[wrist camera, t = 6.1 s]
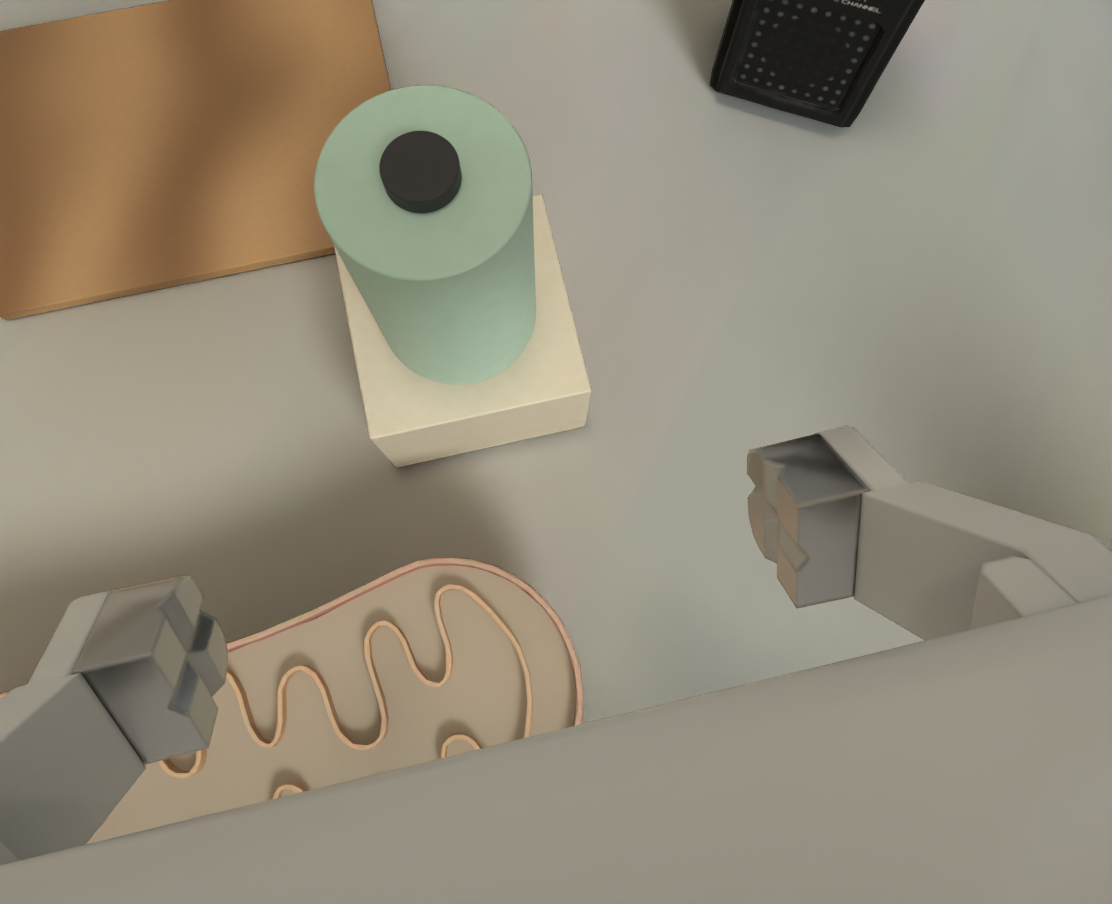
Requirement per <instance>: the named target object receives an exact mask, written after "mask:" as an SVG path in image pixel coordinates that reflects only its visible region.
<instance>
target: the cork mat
mask: <svg viewBox="0 0 1112 904" xmlns="http://www.w3.org/2000/svg"><path fill="white" fill-rule="evenodd" d="M390 90H391V88H390V83H389V78H388V74H387V69H386V64H385V59H384V55H383V50H382V45H381V40H380V36H379V31H378V26H377V21H376V17H375V12H374V7H373V2H372V0H169V1H164V2H158V3H153V4H147V5H142V6H136V7H131V8H125V9H120V10H114V11H109V12H103V13H98V14H92V15H87V16H81V17H75V18H70V19H64V20H59V21H53V22H48V23H42V24H37V25H31V26H26V27H20V28H15V29H9V30H4V31H0V317H1V318H3V319H5V320H9V319H14V318H19V317H24V316H29V315H34V314H39V313H44V312H49V311H54V310H58V309H63V308H68V307H73V306H78V305H83V304H88V303H93V302H98V301H103V300H108V299H113V298H118V297H122V296H127V295H132V294H137V293H142V292H147V291H152V290H157V289H162V288H167V287H172V286H177V285H182V284H187V283H191V282H196V281H201V280H206V279H211V278H216V277H221V276H226V275H231V274H236V273H241V272H246V271H251V270H256V269H260V268H265V267H270V266H275V265H280V264H285V263H290V262H295V261H300V260H305V259H310V258H315V257H320V256H325V255H329V254H334V253H335V248H334V244H333V243H332V241H331V239H330V237H329V235H328V234H327V232H326V230H325V228H324V226H323V224H322V221H321V219H320V217H319V214H318V210H317V206H316V203H315V194H314V178H315V172H316V166H317V162H318V159H319V156H320V153H321V150H322V148H323V146H324V144H325V142H326V140H327V138H328V137H329V135H330V134H331V133H332V131H333V130H334V128H335V127H336V126H337V125H338V124H339V122H340V121H341V120H342V119H343V118H344V117H345V116H346V115H348V114H349V113H350V112H351V111H352V110H353V109H355V108H356V107H358V106H359V105H361V104H362V103H364V102H365V101H367V100H369V99H371V98H373V97H375V96H377V95H379V94H382V93H385V92H387V91H390Z"/></svg>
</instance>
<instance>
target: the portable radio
mask: <svg viewBox="0 0 1112 904" xmlns="http://www.w3.org/2000/svg"><path fill="white" fill-rule="evenodd" d="M924 1H925V0H733V2H732V5H731V8H730V12H729V15H728V19H727V22H726V25H725V29H724V32H723V35H722V39H721V42H720V45H719V49H718V52H717V56H716V59H715V62H714V66H713V69H712V74H711V80H710V85H711V86H712V87H713V88H714V89H715V90H716V91H717V92H721V93H724V94H728V95H731V96H735V97H738V98H742V99H745V100H749V101H752V102H755V103H759V104H762V105H765V106H769V107H772V108H775V109H779V110H782V111H786V112H790V113H793V114H797V115H800V116H804V117H808V118H811V119H815V120H818V121H822V122H825V123H829V124H832V125H836V126H839V127H850V125H851V124H852V123H853V121H854V120H855V119H856V117H857V116H858V114H859V113H860V111H861V110H862V108H863V106H864V104H865V103H866V101H867V99H868V97H869V96H870V94H871V92H872V90H873V89H874V87H875V85H876V83H877V81H878V80H879V78H880V76H881V74H882V73H883V71H884V69H885V68H886V66H887V64H888V62H889V61H890V59H891V57H892V56H893V54H894V52H895V50H896V49H897V47H898V45H899V44H900V42H901V40H902V38H903V37H904V35H905V33H906V32H907V30H908V28H909V26H910V25H911V23H912V21H913V20H914V18H915V16H916V14H917V13H918V11H919V9H920V8H921V6H922V4H923V2H924Z"/></svg>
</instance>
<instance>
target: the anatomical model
mask: <svg viewBox="0 0 1112 904" xmlns="http://www.w3.org/2000/svg"><path fill="white" fill-rule="evenodd" d="M227 649H228V671H227V676H226V680H225V684H224V685H223V686H222V687H221V688H220V689H219V690H218V691H217V692H216V693H215V694H214V695H213V697H212V698H213V700H214V701H215V703H216V705H217V707H218V713H217V717H216V721H215V725H214V729H213V733H212V737H211V741H210V745H209V748H207V749H203V750H199V751H195V752H192V753H188V754H184V755H180V756H177V757H173V758H169V759H165V760H161V761H158V762H154V763H150V764H146V765H145V766H146V769H145V770H144V771H143V773H142V774H141V775H140V776H139V778H138V779H137V780H136V781H135V783H134V784H133V785H132V787H131V788H130V789H129V790H128V792H127V793H126V794H125V795H124V797H123V798H122V799H121V801H120V802H119V803H118V804H117V806H116V807H115V808H114V809H113V811H112V812H111V813H110V814H109V816H108V817H107V818H106V820H105V821H104V822H103V823H102V825H101V826H100V827H99V828H98V830H97V831H96V832H95V834H94V835H93V836H92V837H91V839H90V840H89V841H88V842H87V844H90V843H94V842H98V841H102V840H106V839H110V838H114V837H119V836H123V835H127V834H131V833H135V832H139V831H143V830H147V829H152V828H156V827H160V826H164V825H168V824H172V823H176V822H180V821H185V820H189V819H193V818H197V817H201V816H205V815H209V814H213V813H218V812H222V811H226V810H230V809H234V808H238V807H242V806H247V805H251V804H255V803H259V802H263V801H267V800H271V799H275V798H280V797H284V796H288V795H292V794H296V793H300V792H304V791H308V790H313V789H317V788H321V787H325V786H329V785H333V784H337V783H341V782H346V781H350V780H354V779H358V778H362V777H366V776H370V775H375V774H379V773H383V772H387V771H391V770H395V769H399V768H403V767H408V766H412V765H416V764H420V763H424V762H428V761H432V760H436V759H440V758H444V757H449V756H453V755H457V754H461V753H465V752H469V751H473V750H477V749H481V748H485V747H490V746H494V745H498V744H502V743H506V742H510V741H514V740H518V739H522V738H526V737H530V736H535V735H539V734H543V733H547V732H551V731H555V730H559V729H563V728H567V727H571V726H575V725H580V724H581V721H582V714H583V686H582V678H581V671H580V664H579V661H578V658H577V655H576V652H575V649H574V647H573V644H572V641H571V638H570V636H569V634H568V632H567V630H566V629H565V627H564V625H563V623H562V621H561V619H560V618H559V617H558V615H557V614H556V613H555V611H554V610H553V609H552V607H551V606H550V605H549V604H548V602H547V601H546V600H545V599H544V598H543V597H542V596H541V595H540V594H539V593H538V592H537V591H536V590H535V589H533V588H532V587H531V586H530V585H528V584H527V583H526V582H524V581H523V580H521V579H520V578H518V577H517V576H515V575H514V574H512V573H510V572H508V571H506V570H503V569H501V568H499V567H497V566H494V565H491V564H487V563H484V562H480V561H477V560H472V559H464V558H456V557H449V558H429V559H424V560H419V561H416V562H413V563H411V564H408V565H406V566H403V567H401V568H399V569H396V570H394V571H392V572H390V573H388V574H386V575H384V576H382V577H380V578H378V579H376V580H374V581H372V582H370V583H368V584H366V585H363V586H361V587H359V588H357V589H355V590H353V591H351V592H349V593H347V594H345V595H343V596H341V597H339V598H337V599H335V600H333V601H331V602H328V603H326V604H324V605H322V606H320V607H318V608H316V609H314V610H312V611H309V612H307V613H305V614H302V615H300V616H297V617H295V618H293V619H290V620H288V621H286V622H283V623H281V624H278V625H276V626H274V627H271V628H269V629H266V630H264V631H262V632H259V633H256V634H253V635H250V636H247V637H245V638H242V639H239V640H236V641H233V642H230V643H227ZM9 692H10V691H8V692H3V693H0V699H2V698H3V697H4V696H5V695H6V694H8V693H9Z"/></svg>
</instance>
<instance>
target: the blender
mask: <svg viewBox="0 0 1112 904" xmlns="http://www.w3.org/2000/svg"><path fill="white" fill-rule="evenodd" d="M314 194H315V203H316V206H317V210H318V214H319V217H320V219H321V221H322V224H323V226H324V228H325V230H326V232H327V234H328V235H329V237H330V239H331V241H332V243H333V244H334V248H335V254H336V259H337V265H338V270H339V276H340V281H341V286H342V292H343V297H344V303H345V308H346V314H347V319H348V324H349V330H350V335H351V341H352V346H353V352H354V357H355V363H356V368H357V373H358V379H359V384H360V390H361V395H362V401H363V406H364V411H365V417H366V422H367V428H368V433H369V438H370V439H371V441H372V442H373V443H374V444H375V445H376V446H377V447H378V448H379V449H380V450H381V451H382V453H383V454H384V455H385V456H386V457H387V458H388V459H389V460H390V461H391V462H392V463H393V465H394V466H395V467H397V468H398V467H403V466H407V465H412V464H416V463H421V462H425V461H430V460H434V459H439V458H443V457H448V456H452V455H457V454H462V453H466V452H471V451H475V450H480V449H484V448H489V447H493V446H498V445H502V444H507V443H511V442H516V441H520V440H525V439H529V438H534V437H539V436H543V435H548V434H552V433H557V432H561V431H566V430H570V429H575V428H579V427H584V426H585V421H586V416H587V411H588V405H589V400H590V395H591V386H590V382H589V378H588V374H587V370H586V366H585V362H584V358H583V354H582V350H581V346H580V342H579V338H578V334H577V330H576V326H575V322H574V318H573V314H572V310H571V306H570V302H569V298H568V294H567V290H566V286H565V282H564V278H563V274H562V270H561V266H560V262H559V258H558V254H557V250H556V246H555V242H554V238H553V234H552V230H551V226H550V222H549V218H548V214H547V210H546V206H545V202H544V198H543V195H542V194H538V195H533V194H532V170H531V165H530V159H529V156H528V153H527V150H526V147H525V145H524V143H523V141H522V139H521V137H520V135H519V134H518V132H517V131H516V129H515V128H514V127H513V125H512V124H511V123H510V122H509V121H508V120H507V119H506V117H505V116H504V115H503V114H502V113H500V112H499V111H498V110H497V109H496V108H494V107H493V106H492V105H490V104H489V103H487V102H486V101H484V100H482V99H480V98H478V97H476V96H474V95H472V94H470V93H467V92H464V91H461V90H458V89H454V88H449V87H445V86H435V85H416V86H408V87H402V88H398V89H394V90H390V91H387V92H385V93H382V94H379V95H377V96H375V97H373V98H371V99H369V100H367V101H365V102H364V103H362V104H361V105H359V106H358V107H356V108H355V109H353V110H352V111H351V112H350V113H349V114H348V115H346V116H345V117H344V118H343V119H342V120H341V121H340V122H339V124H338V125H337V126H336V127H335V128H334V130H333V131H332V133H331V134H330V135H329V137H328V138H327V140H326V142H325V144H324V146H323V148H322V150H321V153H320V156H319V159H318V162H317V166H316V172H315V178H314Z"/></svg>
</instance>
